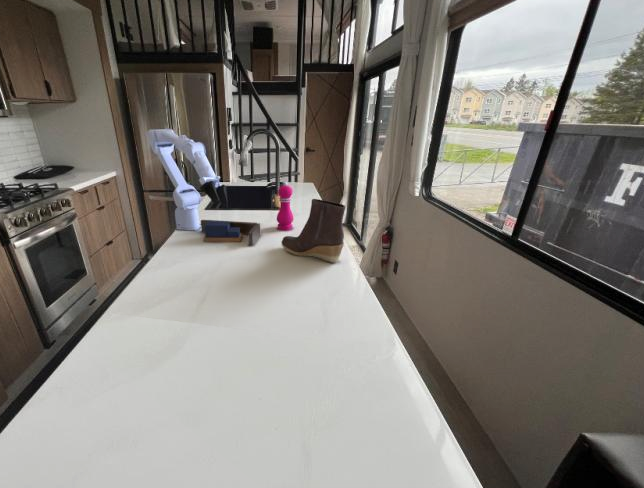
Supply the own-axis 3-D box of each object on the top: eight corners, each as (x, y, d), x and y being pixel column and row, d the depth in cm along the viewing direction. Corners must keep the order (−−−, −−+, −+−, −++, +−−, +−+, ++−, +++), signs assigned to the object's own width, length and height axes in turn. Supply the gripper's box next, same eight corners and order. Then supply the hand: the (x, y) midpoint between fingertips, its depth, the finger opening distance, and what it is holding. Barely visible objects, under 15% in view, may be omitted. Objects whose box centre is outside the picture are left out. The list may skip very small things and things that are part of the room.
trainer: (204, 241, 127) (202, 225, 124) (207, 236, 133) (206, 221, 130) (239, 241, 127) (239, 225, 124) (241, 236, 132) (241, 221, 129)
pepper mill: (274, 230, 138) (274, 183, 129) (279, 225, 144) (279, 179, 136) (291, 231, 136) (291, 183, 127) (295, 226, 142) (296, 180, 134)
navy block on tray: (190, 241, 128) (188, 229, 125) (203, 230, 139) (202, 219, 137) (252, 245, 123) (252, 233, 120) (260, 234, 134) (260, 222, 132)
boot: (289, 243, 124) (290, 191, 116) (347, 258, 111) (353, 200, 102) (276, 250, 118) (276, 195, 109) (336, 267, 105) (341, 206, 96)
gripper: (204, 161, 114) (221, 194, 113) (222, 169, 128) (237, 199, 127) (188, 172, 116) (205, 205, 115) (208, 179, 130) (223, 209, 129)
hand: (221, 203), depth 121 cm, fingers open, 7 cm apart
